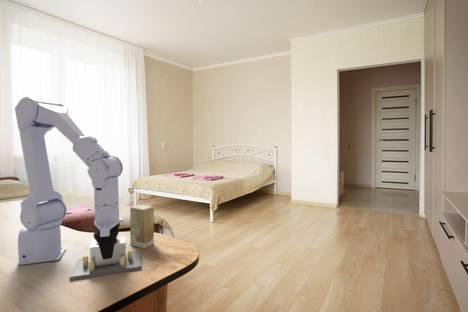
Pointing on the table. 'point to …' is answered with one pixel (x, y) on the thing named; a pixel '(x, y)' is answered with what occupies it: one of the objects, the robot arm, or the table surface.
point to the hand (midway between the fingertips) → (108, 254)
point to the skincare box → (142, 226)
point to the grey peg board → (106, 266)
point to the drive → (117, 252)
